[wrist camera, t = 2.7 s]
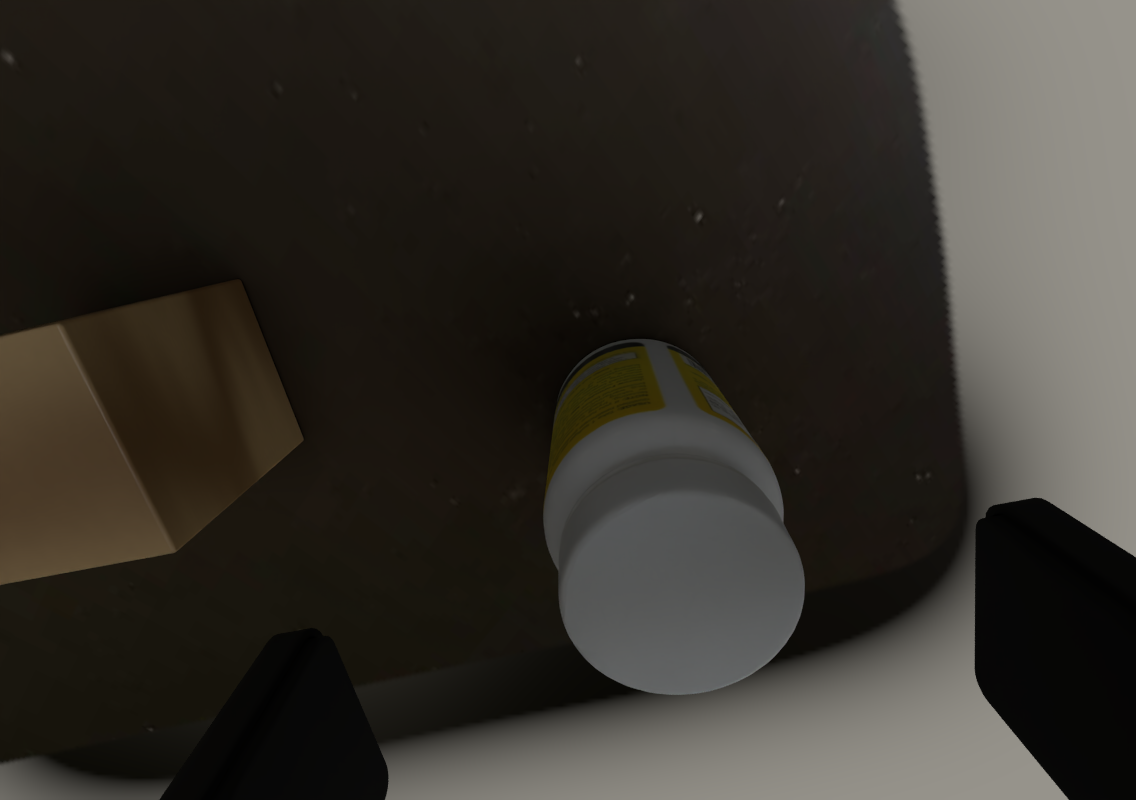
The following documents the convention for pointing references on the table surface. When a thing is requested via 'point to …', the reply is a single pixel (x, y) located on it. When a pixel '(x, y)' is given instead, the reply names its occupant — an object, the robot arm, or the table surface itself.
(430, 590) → the table surface
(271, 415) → the oak block
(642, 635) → the supplement bottle
